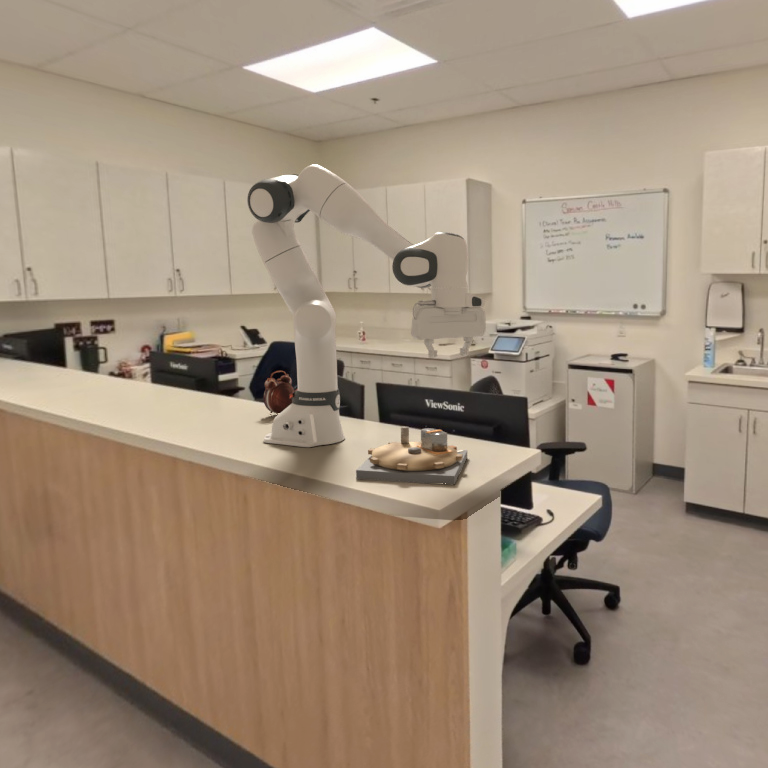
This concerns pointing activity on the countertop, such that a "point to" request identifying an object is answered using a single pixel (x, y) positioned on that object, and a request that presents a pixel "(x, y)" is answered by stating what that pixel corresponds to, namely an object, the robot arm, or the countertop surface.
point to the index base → (412, 473)
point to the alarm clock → (278, 393)
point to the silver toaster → (434, 440)
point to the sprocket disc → (412, 455)
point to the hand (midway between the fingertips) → (448, 356)
